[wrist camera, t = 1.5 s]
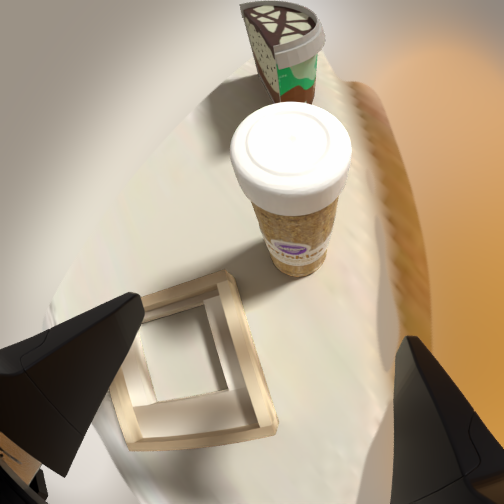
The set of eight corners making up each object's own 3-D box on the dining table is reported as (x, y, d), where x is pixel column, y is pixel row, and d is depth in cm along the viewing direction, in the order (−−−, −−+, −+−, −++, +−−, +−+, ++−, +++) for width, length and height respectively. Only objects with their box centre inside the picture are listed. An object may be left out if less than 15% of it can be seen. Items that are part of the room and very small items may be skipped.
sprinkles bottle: (272, 280, 22) (227, 202, 9) (267, 226, 23) (225, 106, 10) (331, 274, 21) (368, 186, 8) (323, 219, 22) (336, 92, 10)
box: (279, 422, 18) (275, 435, 16) (147, 441, 19) (129, 451, 16) (234, 277, 22) (224, 269, 19) (113, 316, 23) (93, 313, 20)
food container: (344, 119, 25) (351, 38, 16) (287, 132, 26) (275, 49, 16) (300, 57, 29) (293, -8, 20) (254, 68, 30) (238, 2, 20)
